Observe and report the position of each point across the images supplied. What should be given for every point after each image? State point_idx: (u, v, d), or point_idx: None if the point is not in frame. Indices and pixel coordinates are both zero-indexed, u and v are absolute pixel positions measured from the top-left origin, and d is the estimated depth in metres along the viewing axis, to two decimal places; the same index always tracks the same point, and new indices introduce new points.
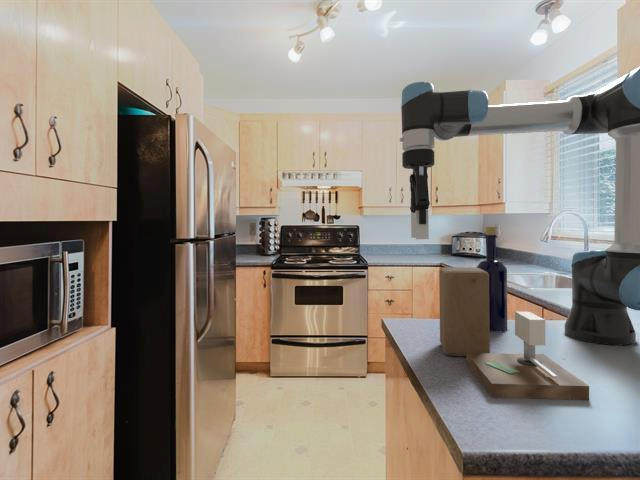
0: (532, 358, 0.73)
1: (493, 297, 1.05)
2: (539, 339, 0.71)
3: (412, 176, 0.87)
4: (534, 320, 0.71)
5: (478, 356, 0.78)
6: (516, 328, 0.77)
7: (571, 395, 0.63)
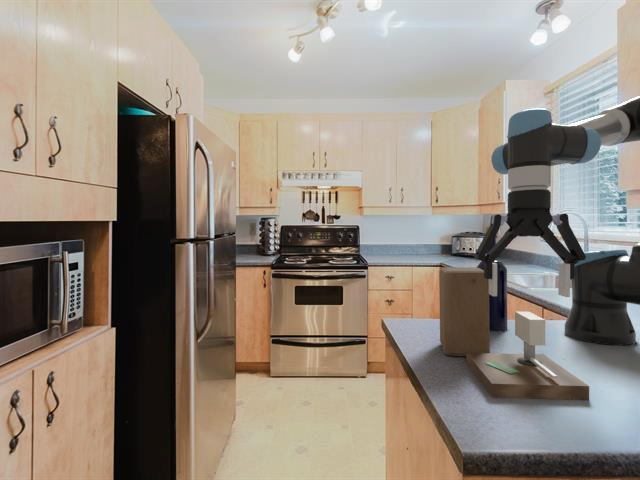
0: (532, 358, 0.73)
1: (493, 297, 1.05)
2: (539, 339, 0.71)
3: None
4: (534, 320, 0.71)
5: (478, 356, 0.78)
6: (516, 328, 0.77)
7: (571, 395, 0.63)
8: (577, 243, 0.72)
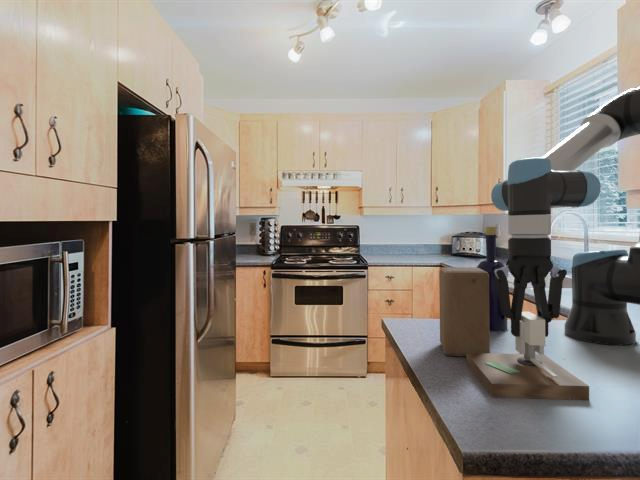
0: (532, 358, 0.73)
1: (493, 297, 1.05)
2: (539, 339, 0.71)
3: None
4: (534, 320, 0.71)
5: (478, 356, 0.78)
6: None
7: (571, 395, 0.63)
8: (559, 301, 0.72)
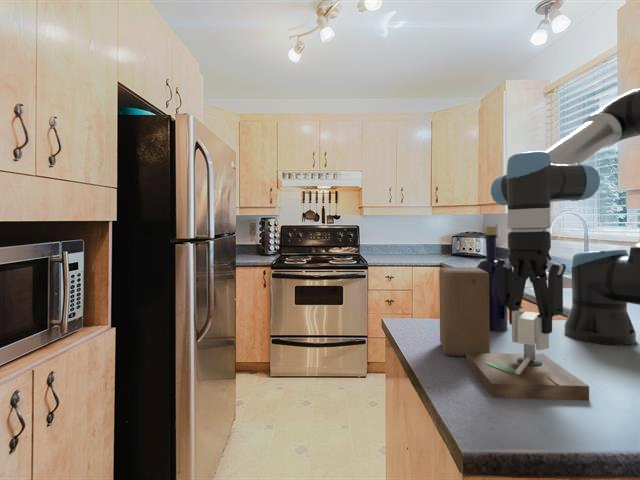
0: (527, 357, 0.73)
1: (493, 297, 1.05)
2: (527, 338, 0.71)
3: None
4: (522, 319, 0.72)
5: (478, 356, 0.78)
6: None
7: (571, 395, 0.63)
8: (552, 298, 0.68)
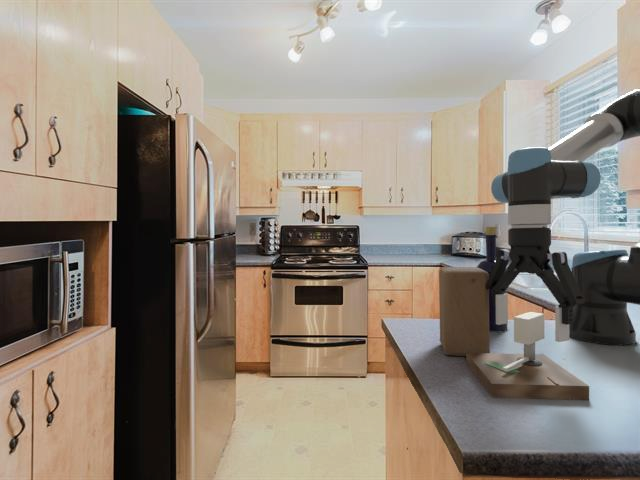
0: (526, 357, 0.74)
1: (493, 297, 1.05)
2: (522, 337, 0.72)
3: None
4: (518, 318, 0.73)
5: (478, 356, 0.78)
6: None
7: (571, 395, 0.63)
8: (567, 286, 0.66)
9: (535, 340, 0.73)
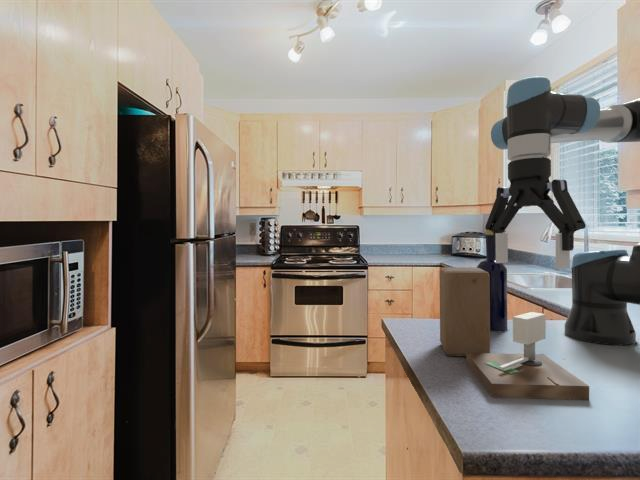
0: (525, 357, 0.74)
1: (493, 297, 1.05)
2: (521, 337, 0.72)
3: None
4: (517, 318, 0.73)
5: (478, 356, 0.78)
6: None
7: (571, 395, 0.63)
8: (567, 210, 0.65)
9: (535, 340, 0.73)
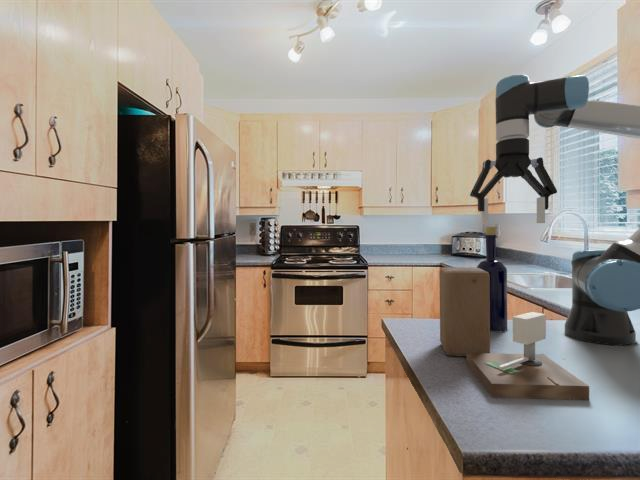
0: (525, 357, 0.74)
1: (493, 297, 1.05)
2: (521, 337, 0.72)
3: None
4: (517, 318, 0.73)
5: (478, 356, 0.78)
6: None
7: (571, 395, 0.63)
8: (550, 180, 0.91)
9: (534, 340, 0.73)
